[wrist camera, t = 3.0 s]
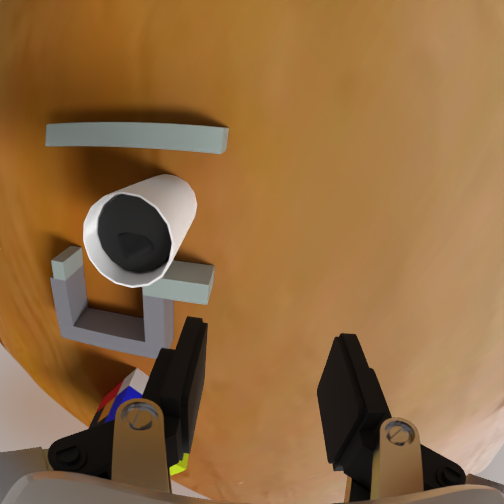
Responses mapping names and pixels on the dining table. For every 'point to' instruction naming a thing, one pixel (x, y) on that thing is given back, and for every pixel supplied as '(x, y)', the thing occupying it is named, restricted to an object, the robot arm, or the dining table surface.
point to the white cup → (139, 229)
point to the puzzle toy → (120, 394)
